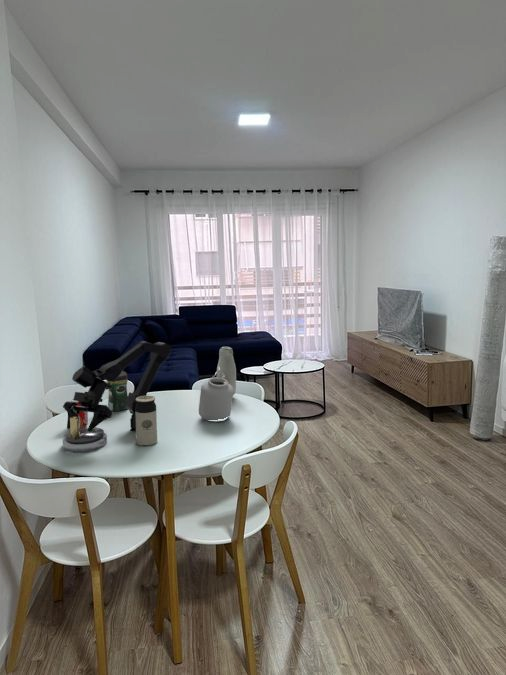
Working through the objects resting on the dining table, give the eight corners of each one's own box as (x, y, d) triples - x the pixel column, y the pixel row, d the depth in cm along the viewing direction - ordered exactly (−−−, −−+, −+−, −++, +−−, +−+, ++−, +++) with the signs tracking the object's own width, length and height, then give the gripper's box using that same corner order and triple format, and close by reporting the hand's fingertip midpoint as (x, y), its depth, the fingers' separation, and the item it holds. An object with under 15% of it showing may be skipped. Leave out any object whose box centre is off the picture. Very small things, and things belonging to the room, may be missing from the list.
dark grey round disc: (113, 437, 177) (113, 430, 177) (96, 453, 161) (95, 445, 161) (75, 436, 179) (75, 429, 178) (54, 451, 163) (54, 444, 162)
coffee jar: (124, 405, 221) (123, 369, 219) (131, 409, 215) (130, 372, 213) (105, 409, 215) (104, 372, 213) (112, 412, 209) (110, 375, 207)
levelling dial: (94, 428, 179) (93, 405, 178) (110, 437, 169) (109, 413, 168) (59, 436, 170) (58, 413, 168) (74, 446, 160) (72, 421, 158)
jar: (242, 422, 197) (242, 367, 194) (214, 428, 188) (214, 371, 185) (219, 411, 212) (219, 361, 209) (192, 417, 203) (192, 364, 200)
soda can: (82, 429, 186) (80, 402, 184) (67, 428, 188) (65, 401, 186) (91, 424, 193) (90, 398, 191) (77, 423, 194) (75, 397, 193)
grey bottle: (237, 396, 240) (237, 345, 236) (232, 401, 230) (232, 348, 226) (220, 394, 242) (220, 344, 238) (214, 400, 232) (214, 347, 228)
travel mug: (138, 438, 176) (137, 395, 174) (158, 438, 177) (157, 395, 174) (134, 446, 168) (132, 401, 166) (155, 446, 169) (154, 400, 166)
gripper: (64, 381, 169) (45, 417, 160) (106, 384, 163) (88, 422, 155) (79, 395, 177) (61, 430, 168) (119, 399, 172) (103, 436, 163)
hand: (78, 429), depth 163 cm, fingers open, 9 cm apart
